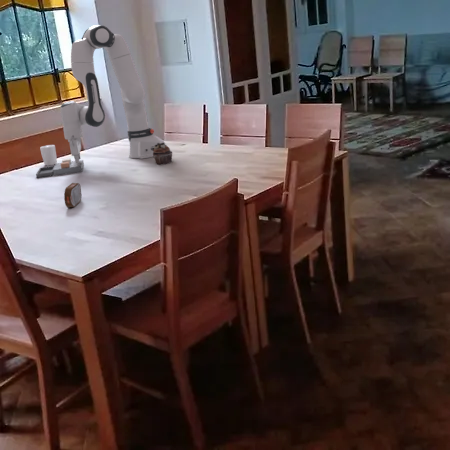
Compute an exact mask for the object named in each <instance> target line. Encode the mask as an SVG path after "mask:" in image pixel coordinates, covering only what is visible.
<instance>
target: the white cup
mask: <svg viewBox="0 0 450 450" xmlns="http://www.w3.org/2000/svg"><path fill="white" fill-rule="evenodd" d="M39 150H40V153H41V157H42V161H43V164H44V166H45V165H47V166H46V167H50V166H55V165H56V164H57V163H58V158H57V157H58V156H57V151H56V145H55V144H47V145H43V146H40V149H39ZM54 164H55V165H54Z"/></svg>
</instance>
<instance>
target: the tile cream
mask: <svg viewBox="0 0 450 450" xmlns="http://www.w3.org/2000/svg"><path fill="white" fill-rule="evenodd" d="M62 162H70V164H71V162H72V160H71V158H65V159H64V158H63V159H62V161H61V163H62Z"/></svg>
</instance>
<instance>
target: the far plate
mask: <svg viewBox="0 0 450 450" xmlns="http://www.w3.org/2000/svg"><path fill="white" fill-rule="evenodd" d="M61 163H62V162H59V163H58V162H57V164H55V165H54V166H55V167H54V169H53V173H54V175H53V177H54V176H55V177H56V176H63V175H70V174H75V173H76V174H77V173H83V171H84V167H85V163H84V159H80V160H79V163H76V162H75V160H73V161H72V160H71V164H70V167H65V168H61Z"/></svg>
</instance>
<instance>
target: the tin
mask: <svg viewBox="0 0 450 450" xmlns="http://www.w3.org/2000/svg"><path fill="white" fill-rule="evenodd" d="M81 187H82V186H81V184H80V183H78V182H72V183H70V184H69V185H67V186H66V187H65V189H64V196H63V198H64V204H65V207H66V208H68V209H69V208H71V209H72V208H76V207H77V205H78V204H79V203H81V201H82V197H83V196H82V188H81Z"/></svg>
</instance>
